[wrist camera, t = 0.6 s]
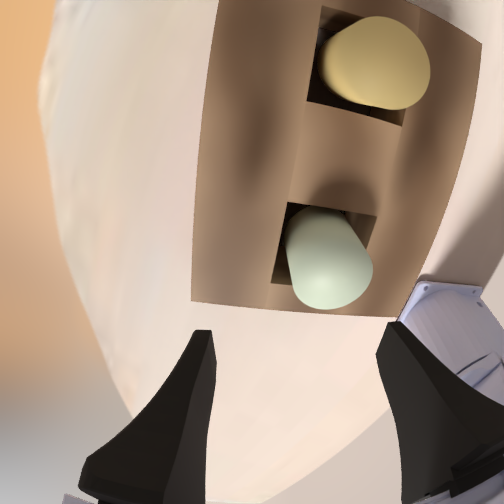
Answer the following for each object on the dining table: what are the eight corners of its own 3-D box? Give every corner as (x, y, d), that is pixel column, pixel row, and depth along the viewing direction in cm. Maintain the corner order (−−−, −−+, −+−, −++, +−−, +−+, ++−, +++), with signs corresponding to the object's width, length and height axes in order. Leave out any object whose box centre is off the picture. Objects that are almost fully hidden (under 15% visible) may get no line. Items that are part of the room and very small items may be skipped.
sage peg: (357, 210, 16) (384, 247, 13) (339, 267, 18) (357, 311, 15) (291, 200, 16) (303, 235, 13) (278, 260, 18) (284, 306, 15)
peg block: (441, 46, 13) (482, 43, 9) (377, 279, 23) (397, 317, 19) (233, -14, 12) (227, -42, 8) (200, 260, 21) (191, 301, 18)
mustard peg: (393, 46, 11) (435, 38, 8) (382, 111, 13) (421, 121, 10) (322, 23, 11) (347, 3, 7) (311, 93, 13) (333, 94, 9)
